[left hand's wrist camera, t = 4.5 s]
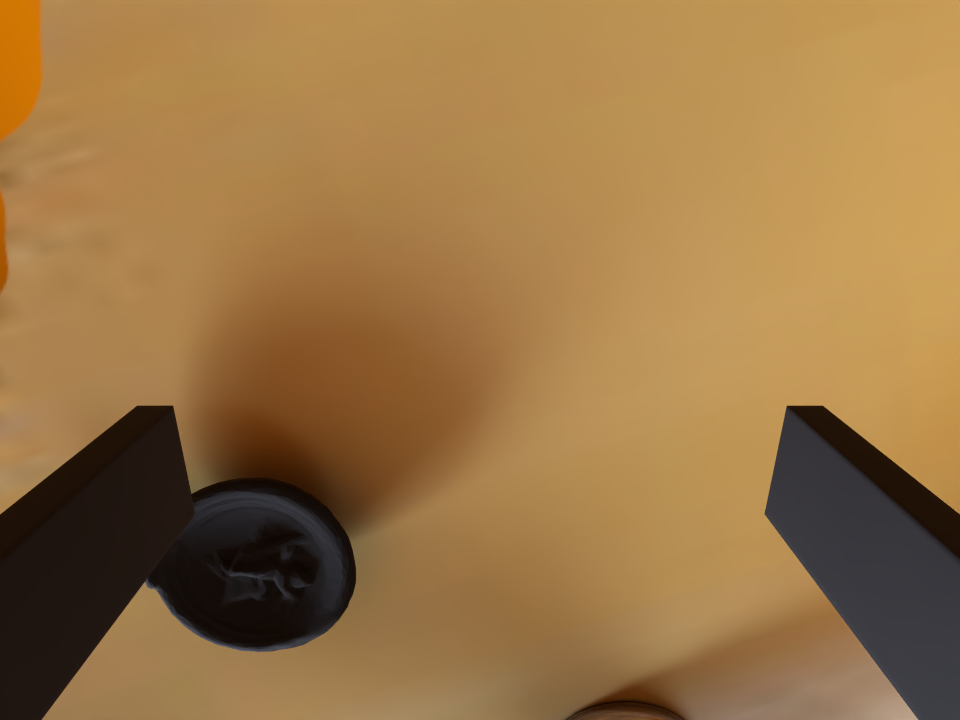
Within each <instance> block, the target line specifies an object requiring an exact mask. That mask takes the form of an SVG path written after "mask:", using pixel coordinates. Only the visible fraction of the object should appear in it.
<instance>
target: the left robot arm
mask: <svg viewBox="0 0 960 720" xmlns="http://www.w3.org/2000/svg"><path fill="white" fill-rule="evenodd" d="M194 515H195V510H194V505H193V500H192V496H191V491H190V486H189V481H188V476H187V471H186V466H185V461H184V457H183V452H182V447H181V442H180V437H179V432H178V427H177V422H176V418H175V413H174V408H173V406H136V407H135V408H134V409H133V410H131V411H130V412H129V413H128V414H126V415H125V416H124V417H123V418H121V419H120V420H119V421H117V422H116V423H115V424H114V425H112V426H111V427H110V428H109V429H107V430H106V431H105V432H104V433H102V434H101V435H100V436H99V437H97V438H96V439H95V440H94V441H92V442H91V443H90V444H89V445H87V446H86V447H85V448H83V449H82V450H81V451H80V452H78V453H77V454H76V455H75V456H73V457H72V458H71V459H70V460H68V461H67V462H66V463H65V464H63V465H62V466H61V467H60V468H58V469H57V470H56V471H54V472H53V473H52V474H51V475H49V476H48V477H47V478H46V479H44V480H43V481H42V482H41V483H39V484H38V485H37V486H36V487H34V488H33V489H32V490H31V491H29V492H28V493H27V494H26V495H24V496H23V497H22V498H20V499H19V500H18V501H17V502H15V503H14V504H13V505H12V506H10V507H9V508H8V509H7V510H5V511H4V512H3V513H2V514H0V720H42V718H43V717H44V716H45V714H46V713H47V712H48V710H49V709H50V708H51V706H52V705H53V704H54V702H55V701H56V700H57V698H58V697H59V696H60V694H61V693H62V692H63V690H64V689H65V688H66V686H67V685H68V684H69V682H70V681H71V680H72V678H73V677H74V676H75V674H76V673H77V672H78V670H79V669H80V668H81V666H82V665H83V664H84V662H85V661H86V660H87V658H88V657H89V656H90V654H91V653H92V652H93V650H94V649H95V648H96V646H97V645H98V644H99V642H100V641H101V640H102V638H103V637H104V636H105V634H106V633H107V632H108V630H109V629H110V628H111V626H112V625H113V623H114V622H115V621H116V619H117V618H118V617H119V615H120V614H121V613H122V611H123V610H124V609H125V607H126V606H127V605H128V603H129V602H130V601H131V599H132V598H133V597H134V595H135V594H136V593H137V591H138V590H139V589H140V587H141V586H142V585H143V583H144V582H145V581H146V579H147V578H148V577H149V575H150V574H151V573H152V571H153V570H154V569H155V567H156V566H157V565H158V563H159V562H160V561H161V559H162V558H163V557H164V555H165V554H166V553H167V551H168V550H169V549H170V547H171V546H172V545H173V543H174V542H175V541H176V539H177V538H178V537H179V535H180V534H181V533H182V531H183V530H184V529H185V527H186V526H187V525H188V523H189V522H190V521H191V519H192V518H193V517H194ZM765 515H766V517H767V518H768V519H769V521H770V522H771V523H772V525H773V526H774V527H775V529H776V530H777V531H778V533H779V534H780V535H781V537H782V538H783V539H784V541H785V542H786V543H787V545H788V546H789V547H790V549H791V550H792V551H793V553H794V554H795V555H796V557H797V558H798V559H799V561H800V562H801V563H802V565H803V566H804V567H805V569H806V570H807V571H808V573H809V574H810V575H811V577H812V578H813V579H814V581H815V582H816V583H817V585H818V586H819V587H820V589H821V590H822V591H823V593H824V594H825V595H826V597H827V598H828V599H829V601H830V602H831V603H832V605H833V606H834V607H835V609H836V610H837V611H838V613H839V614H840V615H841V617H842V618H843V619H844V621H845V622H846V623H847V625H848V626H849V628H850V629H851V630H852V632H853V633H854V634H855V636H856V637H857V638H858V640H859V641H860V642H861V644H862V645H863V646H864V648H865V649H866V650H867V652H868V653H869V654H870V656H871V657H872V658H873V660H874V661H875V662H876V664H877V665H878V666H879V668H880V669H881V670H882V672H883V673H884V674H885V676H886V677H887V678H888V680H889V681H890V682H891V684H892V685H893V686H894V688H895V689H896V690H897V692H898V693H899V694H900V696H901V697H902V698H903V700H904V701H905V702H906V704H907V705H908V706H909V708H910V709H911V710H912V712H913V713H914V714H915V716H916V717H917V718H918V720H960V514H958V513H957V512H956V511H955V510H953V509H952V508H951V507H950V506H948V505H947V504H946V503H945V502H943V501H942V500H941V499H940V498H938V497H937V496H936V495H934V494H933V493H932V492H931V491H929V490H928V489H927V488H926V487H924V486H923V485H922V484H921V483H919V482H918V481H917V480H916V479H914V478H913V477H912V476H911V475H909V474H908V473H907V472H906V471H904V470H903V469H902V468H900V467H899V466H898V465H897V464H895V463H894V462H893V461H892V460H890V459H889V458H888V457H887V456H885V455H884V454H883V453H882V452H880V451H879V450H878V449H877V448H875V447H874V446H873V445H871V444H870V443H869V442H868V441H866V440H865V439H864V438H863V437H861V436H860V435H859V434H858V433H856V432H855V431H854V430H853V429H851V428H850V427H849V426H848V425H846V424H845V423H844V422H843V421H841V420H840V419H839V418H837V417H836V416H835V415H834V414H832V413H831V412H830V411H829V410H827V409H826V408H825V407H824V406H787V408H786V413H785V418H784V422H783V427H782V432H781V437H780V442H779V447H778V452H777V457H776V461H775V466H774V471H773V476H772V481H771V486H770V491H769V496H768V500H767V505H766V510H765ZM566 720H683V719H681V718H680V717H679V716H677V715H675V714H674V713H672V712H670V711H668V710H666V709H663V708H660V707H657V706H653V705H649V704H644V703H635V702H618V703H609V704H604V705H599V706H595V707H592V708H589V709H586V710H584V711H581V712H579V713H577V714H575V715H573V716H571V717H570V718H568V719H566Z"/></svg>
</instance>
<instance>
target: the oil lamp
mask: <svg viewBox="0 0 960 720" xmlns="http://www.w3.org/2000/svg"><path fill="white" fill-rule="evenodd" d="M191 496H192V500H193V505H194V510H195V515H194V517H193V518H192V519H191V521H190V522H189V523H188V525H187V526H186V527H185V529H184V530H183V531H182V533H181V534H180V535H179V537H178V538H177V539H176V541H175V542H174V543H173V545H172V546H171V547H170V549H169V550H168V551H167V553H166V554H165V555H164V557H163V558H162V559H161V561H160V562H159V563H158V565H157V566H156V567H155V569H154V570H153V571H152V573H151V574H150V575H149V577H148V578H147V579H146V581H145V582H146V585H147V587H148V588H151V589H152V588H153V589H155V590H157V592H158V593H159V595H160V596H161V598H162V600H163V601H164V603H165V604H166V606H167V607H168V609H169V610H170V612H171V613H172V615H173V616H175V617H176V618H177V619H178V620H179V621H180V622H181V623H182V624H183V625H184V626H185V627H187V628H188V629H189V630H191V631H192V632H193V633H195V634H196V635H198V636H199V637H202V638H204V639H206V640H208V641H210V642H212V643H215V644H217V645H220V646H225V647H229V648H232V649H237V650H241V651H255V652H266V651H276V650H280V649H288V648H293V647H297V646H300V645H304V644H306V643H307V642H309V641H311V640H313V639H315V638H317V637H319V636H320V635H322V634H324V633H325V632H327V631H328V630H329V629H330V628H331V627H332V626H333V625H334V624H335V623H336V622H337V621H338V620H339V619H340V617H341V616H342V614H343V613H344V611H345V610H346V608H347V607H348V604H349V601H350V599H351V597H352V595H353V592H354V588H355V583H356V566H355V560H354V555H353V550H352V547H351V544H350V540H349V538H348V536H347V534H346V532H345V530H344V529H343V528H342V526H341V525H340V523H339V522H338V520H337V519H336V518H335V517H334V515H333V514H332V513H331V512H330V510H329V509H328V508H327V507H326V506H325V505H323V504H322V503H321V502H320V501H318V500H317V499H316V498H314V497H313V496H312V495H310V494H308V493H307V492H305V491H303V490H302V489H300V488H298V487H296V486H294V485H292V484H289V483H285V482H282V481H278V480H274V479H268V478H242V479H233V480H228V481H224V482H219V483H216V484H213V485H210V486H208V487H205V488H203V489H201V490H199V491H197V492H195V493H193V494H191Z"/></svg>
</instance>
